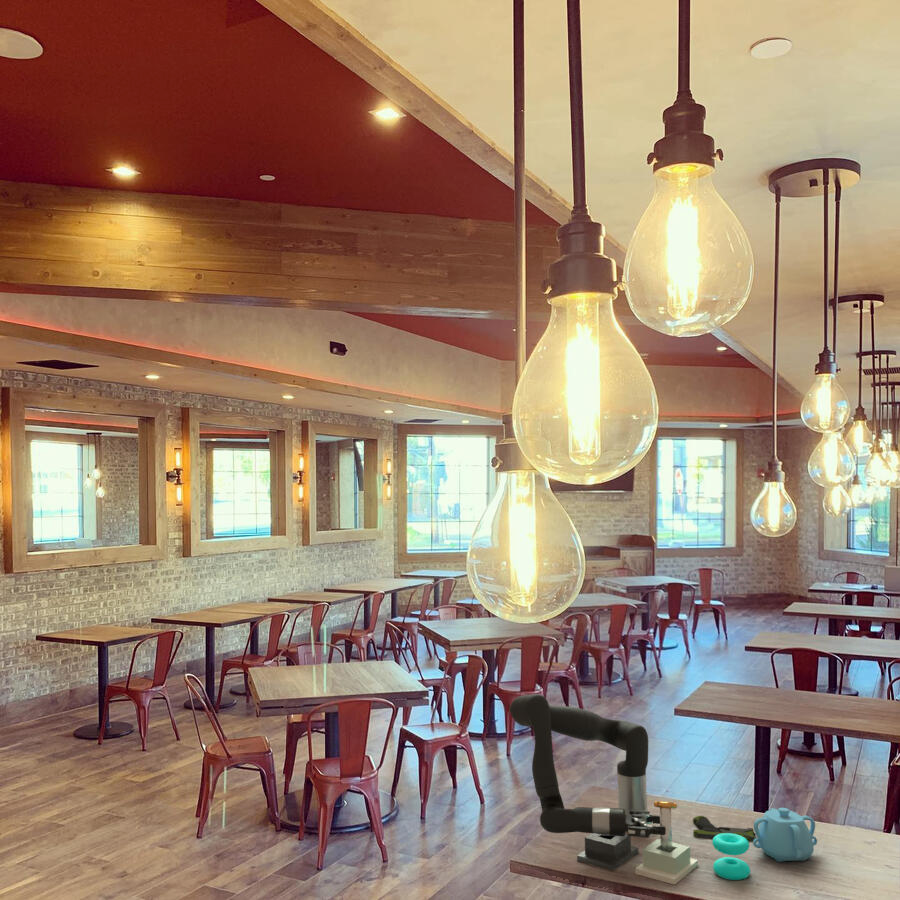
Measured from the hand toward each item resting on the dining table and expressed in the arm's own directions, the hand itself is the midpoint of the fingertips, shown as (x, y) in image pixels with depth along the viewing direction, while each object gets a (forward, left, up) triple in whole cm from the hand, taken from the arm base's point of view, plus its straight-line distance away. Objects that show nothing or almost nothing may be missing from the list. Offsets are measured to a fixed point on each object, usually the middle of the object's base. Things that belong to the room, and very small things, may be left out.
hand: (665, 825), depth 253 cm
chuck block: (+2, -18, -12) cm, 22 cm away
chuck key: (0, 0, -11) cm, 11 cm away
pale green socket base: (0, 0, -12) cm, 13 cm away
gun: (-37, +2, -13) cm, 39 cm away
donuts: (-8, +16, -13) cm, 22 cm away
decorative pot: (-30, +24, -13) cm, 41 cm away
